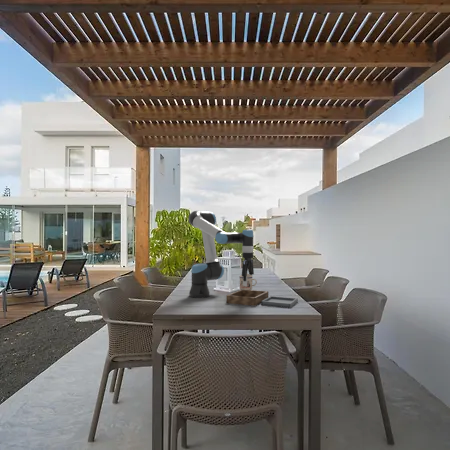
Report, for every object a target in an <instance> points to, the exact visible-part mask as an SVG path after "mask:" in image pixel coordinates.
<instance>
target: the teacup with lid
mask: <svg viewBox="0 0 450 450" xmlns="http://www.w3.org/2000/svg"><path fill="white" fill-rule="evenodd" d="M253 281H255V283H254V284H253ZM257 282H258V281H257V279H255V278H253V275H252V276H251V275H249V273H247V286H243V276H242V274H241V275H239V290H253V287H255V286H256V285H257Z"/></svg>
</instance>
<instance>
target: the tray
mask: <svg viewBox="0 0 450 450" xmlns="http://www.w3.org/2000/svg"><path fill="white" fill-rule="evenodd" d="M298 300H299V299H298V298H296V297H286V296H285V297H284V296H272V295H270V296H268V298H266V299H264V300H263V301H261V303H260V305H261V306H267V307H276V308H287V307H288V308H289V309H291V308H292V307H293V306H294V305H296V304H298V302H299V301H298Z"/></svg>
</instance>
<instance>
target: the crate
mask: <svg viewBox="0 0 450 450" xmlns="http://www.w3.org/2000/svg"><path fill="white" fill-rule="evenodd" d="M268 297H269V291H266V290H257V289H256V290H254V289H252V290H240V289H239V290H237V291H234V292H231V293H229V294H227V295H226V298H225V299H226V304H232V305H243V306H258V305H260V304H261V301H263V300H264V299H266V298H268Z"/></svg>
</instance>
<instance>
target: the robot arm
mask: <svg viewBox="0 0 450 450" xmlns="http://www.w3.org/2000/svg"><path fill="white" fill-rule="evenodd" d="M216 222H217V216H216V214H214V212H212V211H209V210H194V211H192V212H191V213H189V215H188V223H189V224H190V225H191V226H192V227H194V228H198V229H199V230H200V231H201V234H202V242H203V249H204V255H205V262H204V263H203V262H202V263H196V264H193V265H192V266H191V270H190V271H191V285H190V290H189V293H188V296H189V297H190V298H195V299H197V298H198V299H199V298H202V297H203V298H208V297H210V296H211V293H210V290H209V287H208V281H209V282H210V281H216V280H220V279H221V278H222V277H223V276H224V274H225V268H224V266H223V264H221V263H220V260H219V259H218V256H217V249H216V243H217V244H221V245H224V244H242V255H241V256H242V258H243V259H244V260H242V268H241V275H242V276H243V286H247V274H249V275H251V276H252V277H253V275H255V273H254V270H255V269H254V259H253V258H254V248H255V247H254V236H255V235H254V230H253V229H243V230H242V232H235V231H234V232H226V231H224V230H223V229H221V228H219V227H218V226H216Z"/></svg>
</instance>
